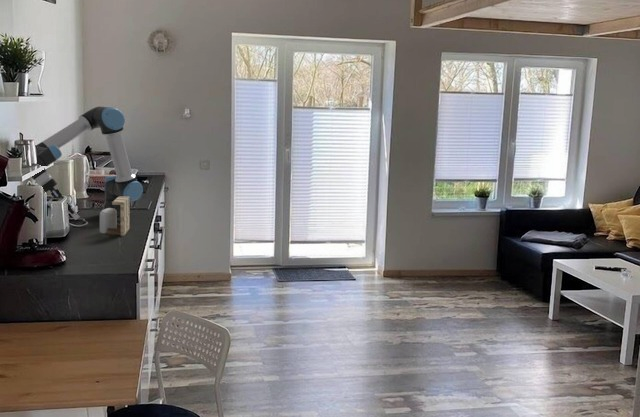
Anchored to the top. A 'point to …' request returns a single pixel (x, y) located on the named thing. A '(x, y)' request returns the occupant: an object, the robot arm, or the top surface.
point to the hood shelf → (122, 216)
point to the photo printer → (108, 219)
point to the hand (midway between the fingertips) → (77, 218)
